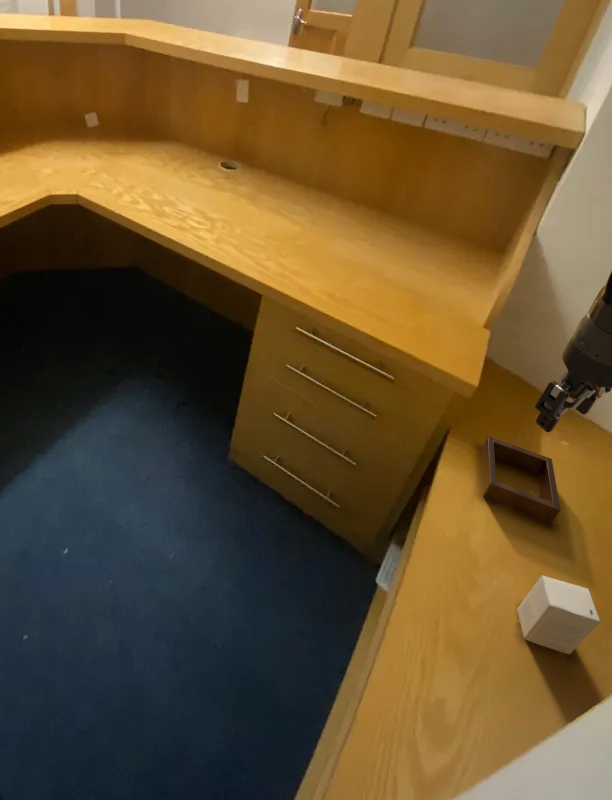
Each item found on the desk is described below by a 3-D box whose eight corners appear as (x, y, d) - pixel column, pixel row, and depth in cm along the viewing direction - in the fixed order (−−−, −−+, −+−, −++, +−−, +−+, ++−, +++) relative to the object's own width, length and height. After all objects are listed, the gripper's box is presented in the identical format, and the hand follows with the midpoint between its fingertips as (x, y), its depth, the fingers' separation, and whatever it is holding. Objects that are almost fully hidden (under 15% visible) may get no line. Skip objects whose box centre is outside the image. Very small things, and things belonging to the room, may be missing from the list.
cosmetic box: (557, 624, 78) (590, 588, 72) (567, 658, 75) (602, 623, 69) (512, 610, 80) (541, 573, 74) (520, 643, 76) (550, 607, 70)
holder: (540, 476, 98) (552, 458, 96) (548, 527, 90) (560, 510, 87) (479, 453, 102) (487, 435, 100) (480, 500, 94) (490, 483, 92)
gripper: (600, 381, 68) (554, 454, 76) (664, 350, 73) (614, 422, 81) (545, 342, 74) (508, 414, 82) (608, 316, 79) (566, 386, 87)
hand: (561, 418), depth 82 cm, fingers open, 8 cm apart
